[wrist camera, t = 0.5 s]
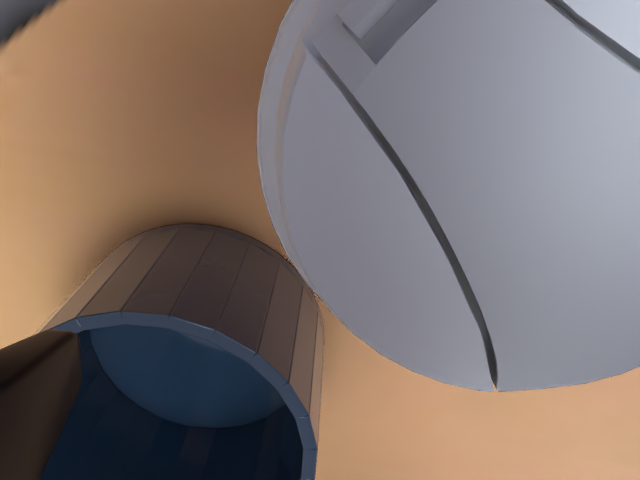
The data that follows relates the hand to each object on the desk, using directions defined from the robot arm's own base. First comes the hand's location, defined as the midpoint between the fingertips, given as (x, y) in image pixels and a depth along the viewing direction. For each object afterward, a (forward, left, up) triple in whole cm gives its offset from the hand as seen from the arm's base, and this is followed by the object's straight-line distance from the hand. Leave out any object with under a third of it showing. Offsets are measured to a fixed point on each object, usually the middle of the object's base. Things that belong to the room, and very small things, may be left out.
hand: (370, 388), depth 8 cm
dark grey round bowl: (-9, +6, -14) cm, 18 cm away
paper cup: (+3, -2, -14) cm, 15 cm away
